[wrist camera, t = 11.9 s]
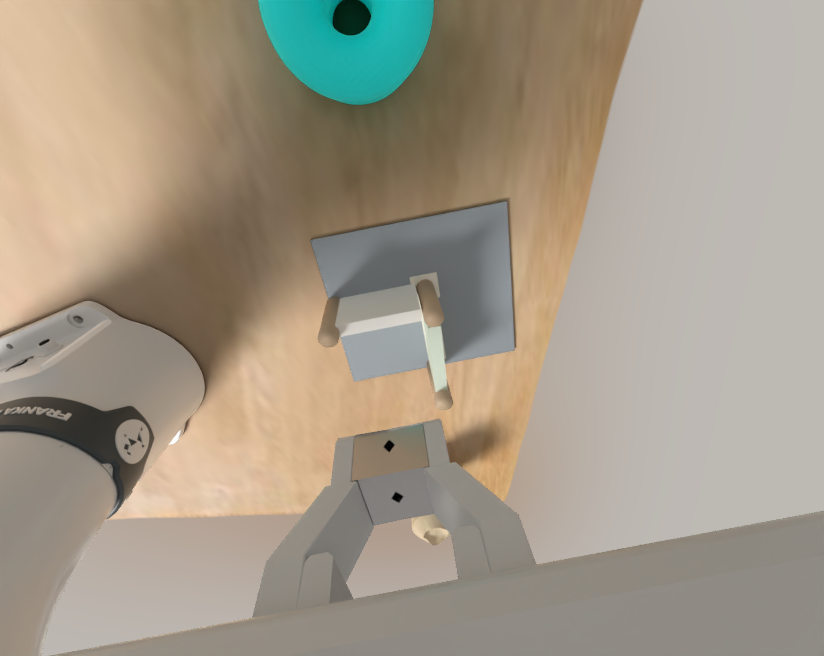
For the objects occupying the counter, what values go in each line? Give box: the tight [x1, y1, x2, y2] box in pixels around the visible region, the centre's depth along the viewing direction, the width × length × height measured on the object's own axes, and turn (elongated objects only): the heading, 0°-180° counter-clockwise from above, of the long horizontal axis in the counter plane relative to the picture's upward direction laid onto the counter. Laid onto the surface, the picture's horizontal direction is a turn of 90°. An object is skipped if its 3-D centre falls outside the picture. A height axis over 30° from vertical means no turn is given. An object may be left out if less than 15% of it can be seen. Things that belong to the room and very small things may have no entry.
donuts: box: [258, 0, 434, 105], centre depth 25 cm, size 10×10×10 cm
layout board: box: [310, 201, 515, 381], centre depth 41 cm, size 19×17×1 cm
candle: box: [411, 514, 451, 545], centre depth 49 cm, size 6×6×10 cm
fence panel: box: [423, 318, 453, 410], centre depth 40 cm, size 9×2×7 cm, turn 7°
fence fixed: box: [318, 279, 444, 347], centre depth 37 cm, size 11×2×7 cm, turn 100°
